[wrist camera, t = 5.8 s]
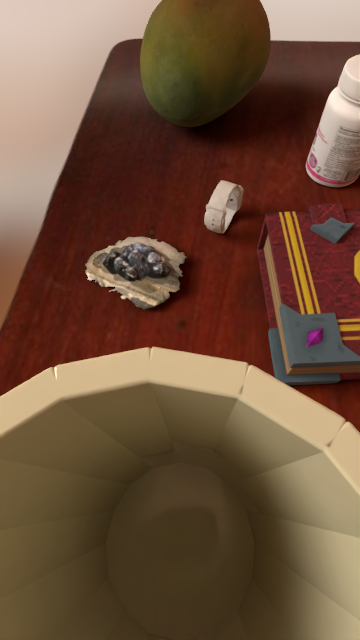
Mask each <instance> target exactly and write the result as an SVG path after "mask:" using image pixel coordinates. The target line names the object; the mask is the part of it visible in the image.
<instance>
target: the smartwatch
mask: <svg viewBox="0 0 360 640" xmlns="http://www.w3.org/2000/svg"><path fill="white" fill-rule="evenodd" d="M242 196H243V188H242V187H241V186H240V185H236V184H233V183H230V182H227V181H224V180H223V181H220V182H219V184H218V185H217V187H216V189H215V191H214V192H213V195H212V197H211V199H210V201H209V204H207V205H206V210H207V212H206V213H205V220H204V222H205V225H206V227H207V228H208V229H209V230H211V231H213V232H216V233H221V234H223V233H224V232H225V231H226V229H227V228H228V226H229V224H230V222H231V220H232V217H233V215H234V213H235V212H236V211H237V210H239V209H240V207H241V202H242Z"/></svg>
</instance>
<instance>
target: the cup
mask: <svg viewBox="0 0 360 640" xmlns="http://www.w3.org/2000/svg"><path fill="white" fill-rule="evenodd" d="M0 640H360V433H359V431H358V430H357V429H356V428H355V427H354V426H353V425H352V424H351V423H350V422H348V421H347V422H345V419H344V418H343V417H342V416H340V415H338V414H337V413H335V412H333V411H331V410H330V409H328V408H326V407H324V406H323V405H321V404H319V403H318V402H316V401H314V400H312V399H311V398H309V397H307V396H305V395H304V394H302V393H300V392H298V391H297V390H295V389H293V388H292V387H290V386H288V385H286V384H285V383H283V382H281V381H279V380H278V379H276V378H274V377H272V376H271V375H269V374H267V373H266V372H264V371H262V370H260V369H259V368H257V367H255V366H253V365H248V363H246V362H241V361H235V360H229V359H223V358H217V357H212V356H206V355H200V354H194V353H188V352H182V351H176V350H170V349H164V348H158V347H152V349H151V348H147V347H146V348H141V349H136V350H131V351H126V352H121V353H116V354H111V355H106V356H101V357H96V358H91V359H86V360H81V361H76V362H71V363H66V364H61V365H57V366H55V368H53V367H50V368H48V369H46V370H45V371H43V372H41V373H40V374H38V375H36V376H34V377H33V378H31V379H29V380H28V381H26V382H24V383H23V384H21V385H19V386H17V387H16V388H14V389H12V390H11V391H9V392H7V393H6V394H4V395H2V396H0Z"/></svg>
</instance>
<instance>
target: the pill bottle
mask: <svg viewBox="0 0 360 640" xmlns="http://www.w3.org/2000/svg"><path fill="white" fill-rule="evenodd" d="M306 170H307V173H308V175H309V176H310V177H311V178H312V179H313V180H314V181H316V182H317V183H319V184H322V185H325V186H329V187H344V186H347V185H350V184H351V183H353V182H354V181H355V180H356V179H357V178H358V176H359V175H360V55H356V56H354V57H352V58H350V59H349V60H348V61H347V62H346V64H345V66H344V69H343V71H342V74H341V76H340V79H339V83H338V87H336V88H335V89H334V90H333V91H332V92H331V93H330V95H329V97H328V100H327V102H326V105H325V108H324V111H323V114H322V117H321V120H320V123H319V126H318V129H317V132H316V135H315V138H314V141H313V144H312V147H311V150H310V153H309V156H308V159H307V162H306Z"/></svg>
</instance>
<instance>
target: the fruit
mask: <svg viewBox="0 0 360 640" xmlns="http://www.w3.org/2000/svg"><path fill="white" fill-rule="evenodd" d="M269 53H270V28H269V22H268V18H267V15H266V12H265V10H264V8H263V6H262V4H261V2H260V0H162V1H161V2H160V3H159V5H158V6H157V7H156V9H155V10H154V12H153V13H152V15H151V17H150V19H149V21H148V24H147V27H146V29H145V33H144V36H143V41H142V47H141V55H140V69H141V78H142V83H143V87H144V91H145V94H146V96H147V99H148V101H149V102H150V104H151V106H152V107H153V108H154V110H155V111H156V112H157V113H158V114H159V115H160V116H161V117H163V118H164V119H165V120H167V121H168V122H170V123H172V124H174V125H177V126H180V127H197V126H201V125H204V124H206V123H209V122H211V121H213V120H214V119H216V118H218V117H219V116H221V115H222V114H224V113H225V112H227V111H228V110H230V109H231V108H233V107H234V106H235V105H237V104H238V103H239V102H240V101H241V100H242V99H243V98H244V97H245V96H246V95H247V94H248V93H249V91H250V90H251V89H252V88H253V87H254V86H255V84H256V83H257V82H258V80H259V79H260V77H261V75H262V73H263V71H264V69H265V66H266V64H267V61H268V58H269Z"/></svg>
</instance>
